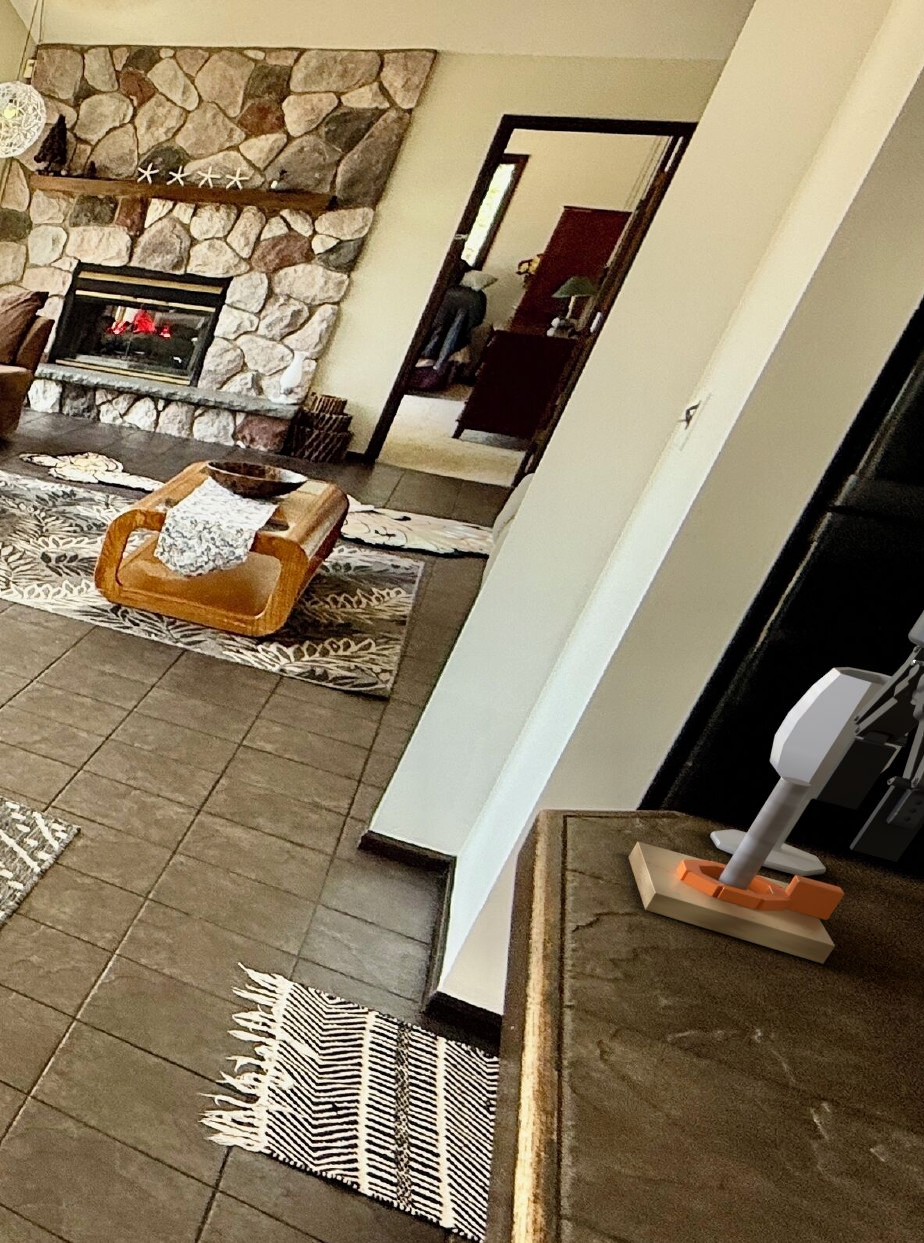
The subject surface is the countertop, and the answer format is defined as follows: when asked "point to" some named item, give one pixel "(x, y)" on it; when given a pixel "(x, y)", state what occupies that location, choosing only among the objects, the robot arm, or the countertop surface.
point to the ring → (763, 890)
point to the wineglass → (813, 753)
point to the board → (722, 911)
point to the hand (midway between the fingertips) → (852, 828)
